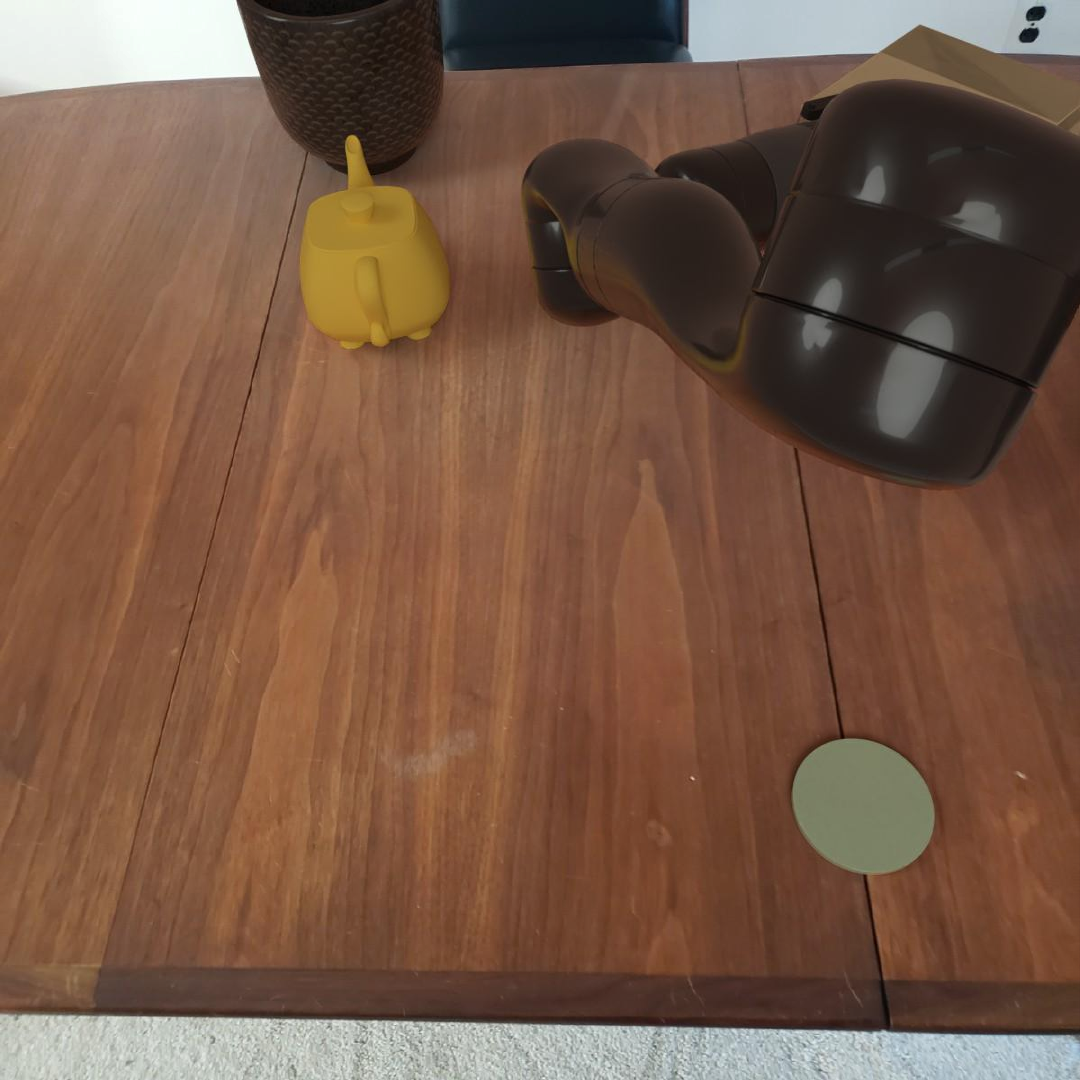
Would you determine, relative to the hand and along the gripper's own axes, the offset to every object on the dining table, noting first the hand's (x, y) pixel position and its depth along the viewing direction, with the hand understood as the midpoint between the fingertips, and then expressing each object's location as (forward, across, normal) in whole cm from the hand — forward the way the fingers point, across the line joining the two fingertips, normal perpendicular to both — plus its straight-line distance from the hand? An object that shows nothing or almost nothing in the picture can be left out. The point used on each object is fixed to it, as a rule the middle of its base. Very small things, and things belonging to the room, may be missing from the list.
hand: (958, 145), depth 71 cm
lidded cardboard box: (+10, +5, +19) cm, 22 cm away
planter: (-22, +54, +28) cm, 65 cm away
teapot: (-32, +30, +28) cm, 52 cm away
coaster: (-26, -33, +23) cm, 48 cm away
